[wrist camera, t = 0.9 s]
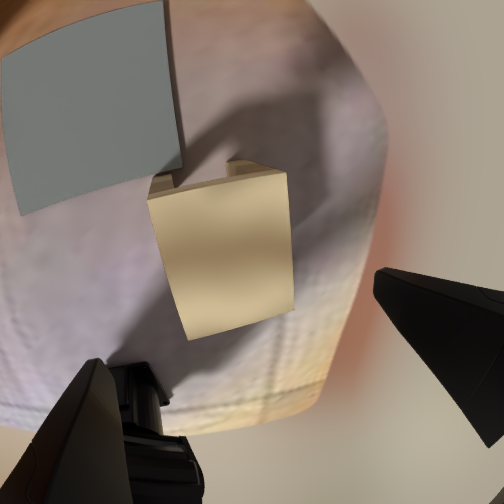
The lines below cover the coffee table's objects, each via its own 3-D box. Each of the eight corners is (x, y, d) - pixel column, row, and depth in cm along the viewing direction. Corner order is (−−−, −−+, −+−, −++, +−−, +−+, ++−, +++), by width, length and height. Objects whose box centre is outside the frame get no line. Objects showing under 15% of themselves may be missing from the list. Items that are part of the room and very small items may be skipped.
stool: (256, 259, 21) (294, 310, 15) (177, 279, 19) (188, 340, 14) (243, 159, 18) (286, 172, 12) (152, 177, 16) (147, 200, 10)
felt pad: (182, 166, 17) (183, 167, 16) (23, 214, 14) (21, 216, 13) (162, 2, 11) (162, 0, 11) (3, 59, 8) (1, 58, 8)
